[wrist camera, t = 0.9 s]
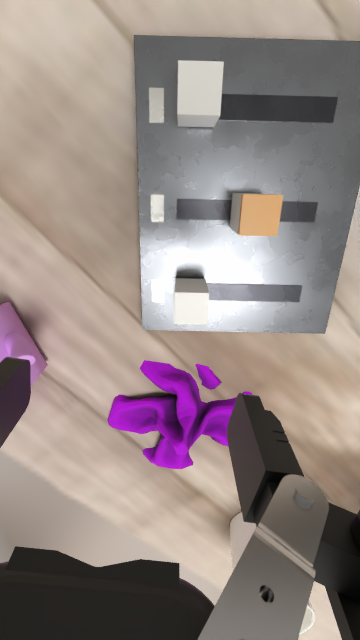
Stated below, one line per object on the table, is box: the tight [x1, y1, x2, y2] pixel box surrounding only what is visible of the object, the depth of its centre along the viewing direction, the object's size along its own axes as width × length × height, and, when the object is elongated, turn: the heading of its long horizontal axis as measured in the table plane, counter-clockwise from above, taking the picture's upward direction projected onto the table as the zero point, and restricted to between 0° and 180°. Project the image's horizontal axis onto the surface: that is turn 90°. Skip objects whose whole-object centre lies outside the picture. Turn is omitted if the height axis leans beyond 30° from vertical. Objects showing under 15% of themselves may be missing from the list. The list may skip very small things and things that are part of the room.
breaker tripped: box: [230, 193, 283, 236], centre depth 26 cm, size 3×3×5 cm
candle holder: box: [230, 512, 315, 635], centre depth 44 cm, size 10×10×12 cm
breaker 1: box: [177, 60, 224, 127], centre depth 23 cm, size 3×3×4 cm
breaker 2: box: [174, 278, 209, 325], centre depth 29 cm, size 3×3×4 cm
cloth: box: [108, 360, 252, 469], centre depth 38 cm, size 22×19×6 cm
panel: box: [134, 35, 360, 334], centre depth 29 cm, size 20×25×2 cm
